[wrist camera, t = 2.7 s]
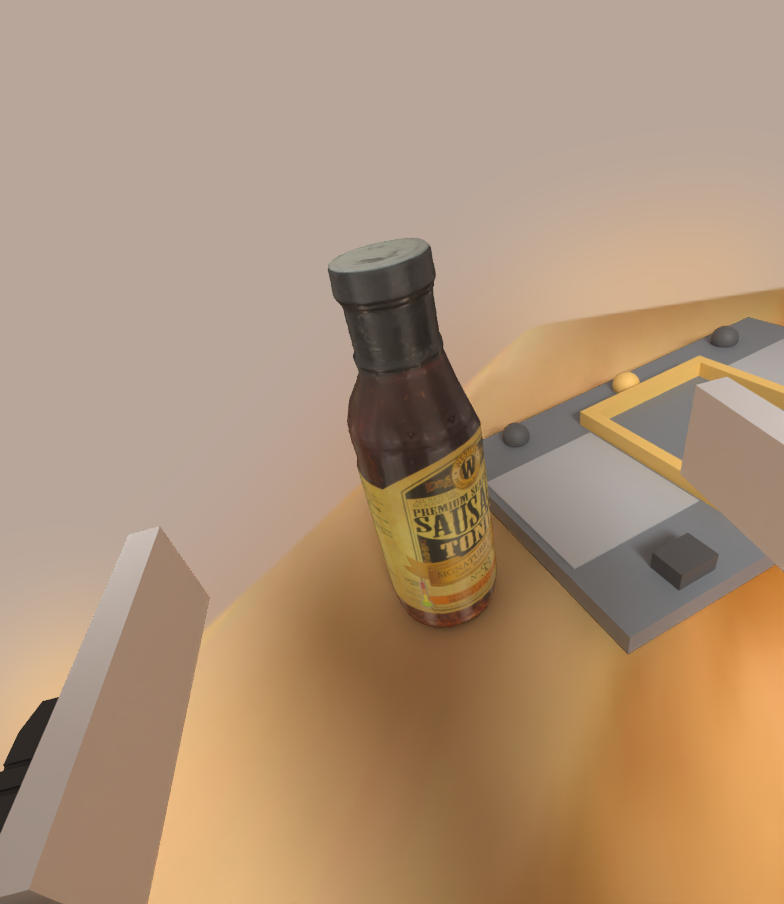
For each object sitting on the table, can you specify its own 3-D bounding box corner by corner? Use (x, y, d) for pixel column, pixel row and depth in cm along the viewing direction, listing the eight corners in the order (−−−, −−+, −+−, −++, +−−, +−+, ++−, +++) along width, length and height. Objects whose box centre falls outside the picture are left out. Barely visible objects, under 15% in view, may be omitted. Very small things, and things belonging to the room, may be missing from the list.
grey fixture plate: (744, 332, 44) (751, 302, 43) (1022, 414, 30) (1049, 373, 28) (451, 470, 38) (445, 441, 36) (628, 654, 24) (632, 620, 22)
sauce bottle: (454, 655, 26) (358, 298, 14) (377, 596, 30) (254, 283, 19) (523, 574, 29) (490, 226, 17) (445, 531, 33) (376, 227, 22)
